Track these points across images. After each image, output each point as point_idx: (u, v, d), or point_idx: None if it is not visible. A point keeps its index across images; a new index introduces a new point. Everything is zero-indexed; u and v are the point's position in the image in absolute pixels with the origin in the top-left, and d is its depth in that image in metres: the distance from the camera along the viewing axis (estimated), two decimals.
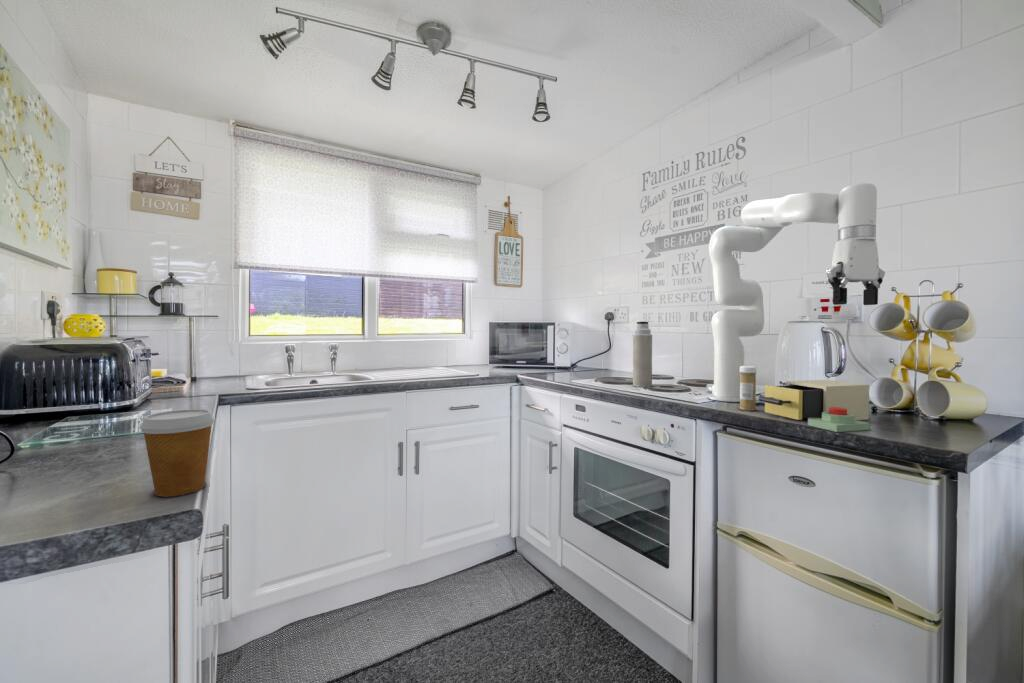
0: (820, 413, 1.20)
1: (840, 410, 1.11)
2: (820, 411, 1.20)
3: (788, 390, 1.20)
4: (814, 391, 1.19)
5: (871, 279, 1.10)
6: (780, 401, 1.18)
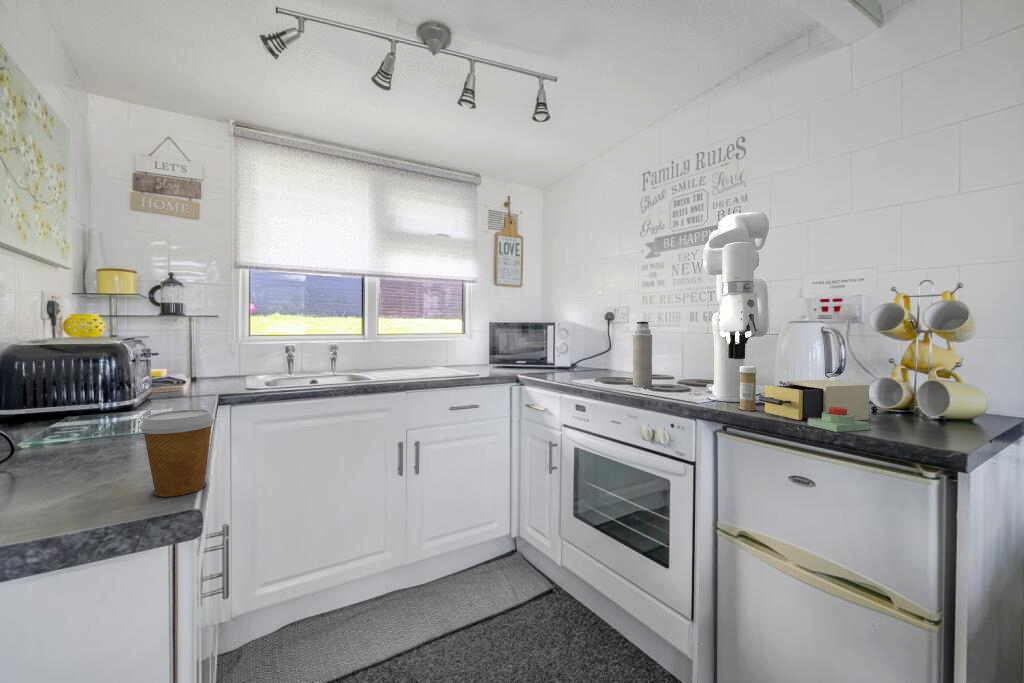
0: (820, 413, 1.20)
1: (840, 410, 1.11)
2: (820, 411, 1.20)
3: (788, 390, 1.20)
4: (814, 391, 1.19)
5: (738, 331, 1.16)
6: (780, 401, 1.18)
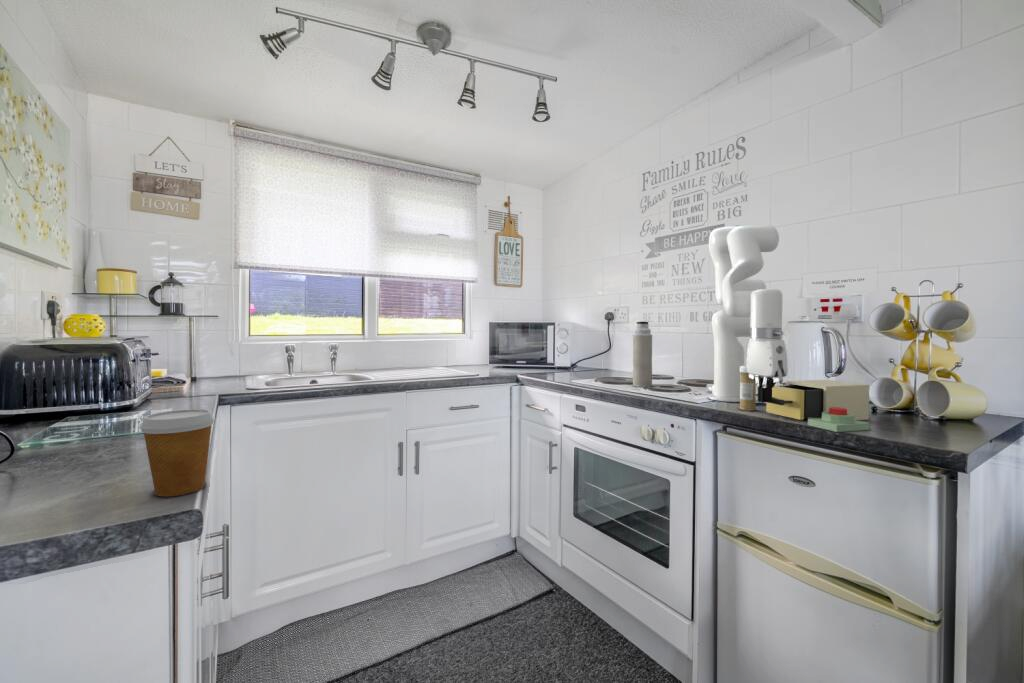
0: None
1: (840, 410, 1.11)
2: (822, 411, 1.20)
3: (790, 390, 1.20)
4: (816, 391, 1.19)
5: (767, 376, 1.18)
6: (782, 401, 1.18)
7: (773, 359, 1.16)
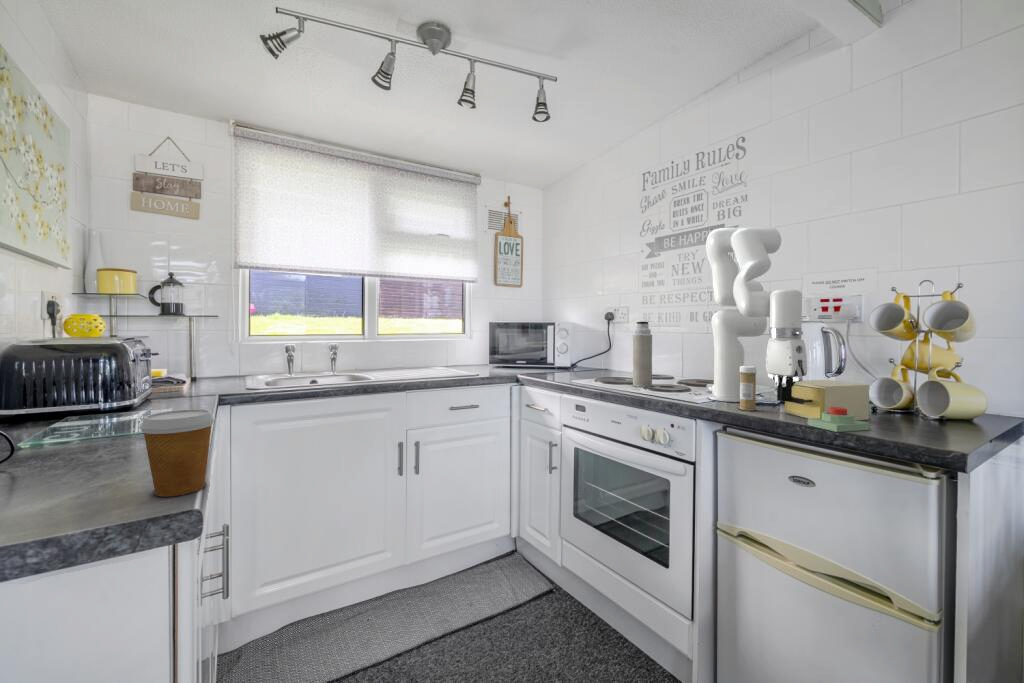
0: None
1: (840, 410, 1.11)
2: None
3: (809, 389, 1.22)
4: None
5: (786, 375, 1.20)
6: (802, 400, 1.20)
7: (793, 358, 1.18)
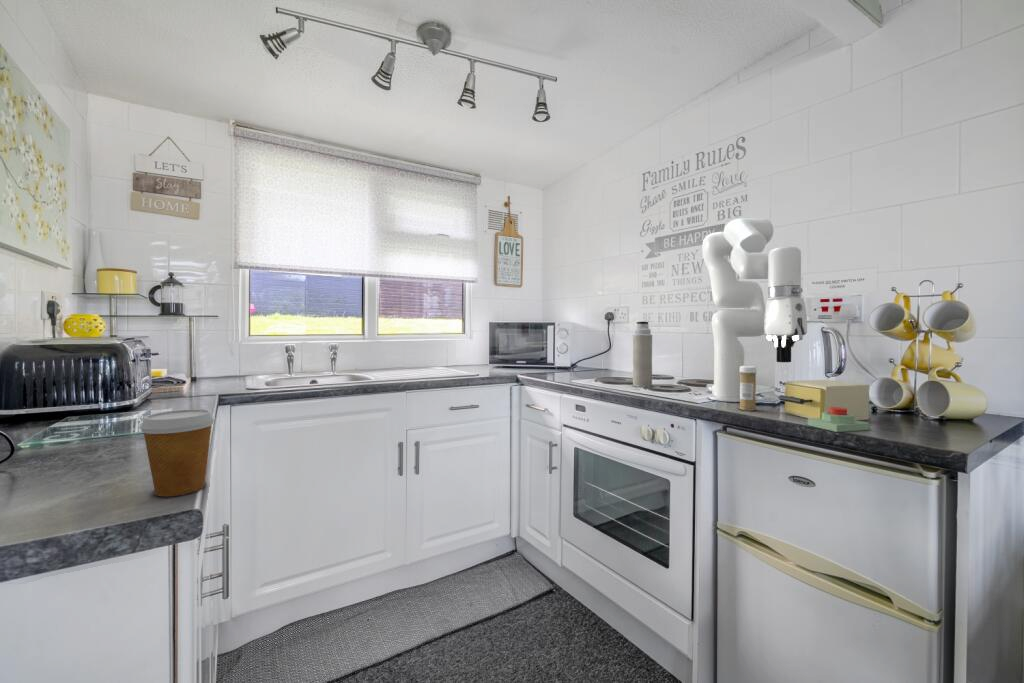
0: None
1: (840, 410, 1.11)
2: None
3: (809, 389, 1.22)
4: None
5: (786, 334, 1.17)
6: (802, 400, 1.20)
7: (792, 316, 1.15)
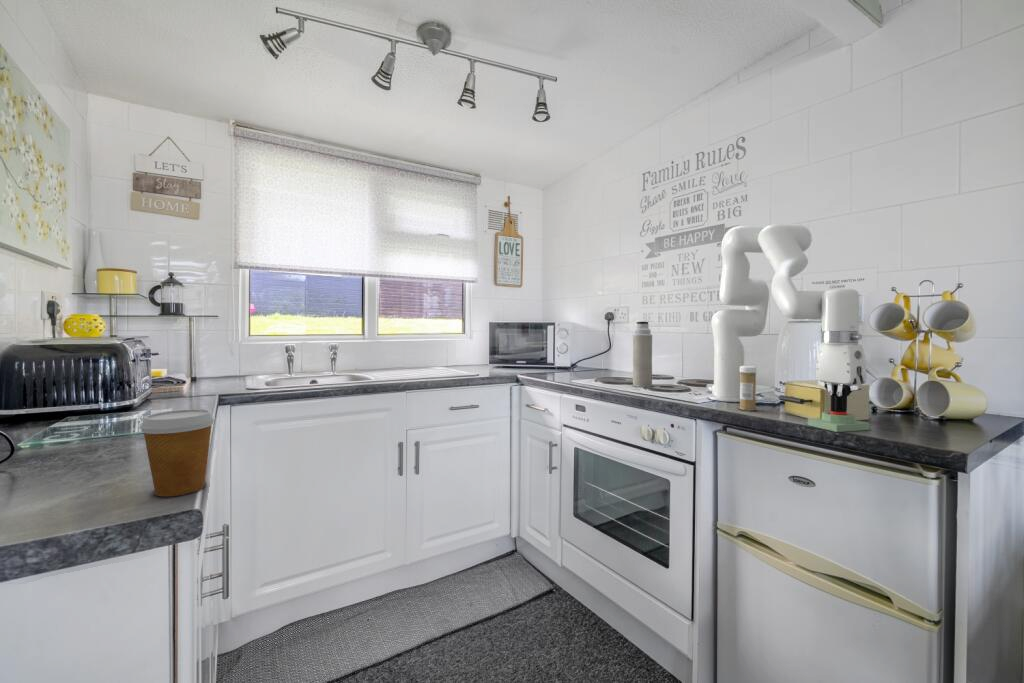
0: None
1: (840, 413, 1.11)
2: None
3: (809, 389, 1.22)
4: None
5: (843, 383, 1.09)
6: (802, 400, 1.20)
7: (851, 365, 1.07)
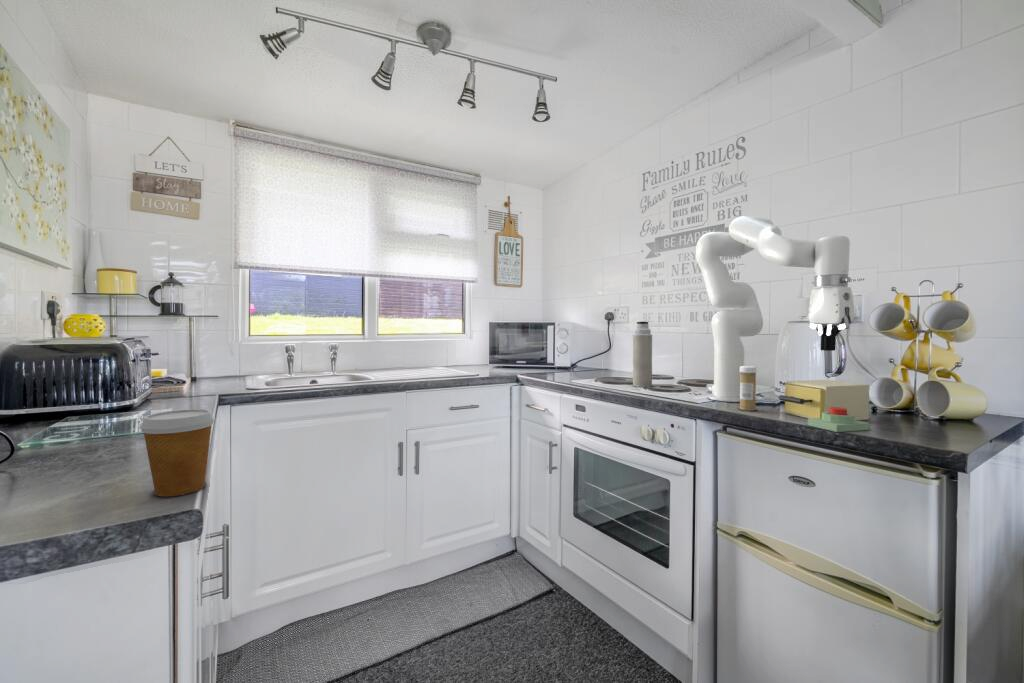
0: None
1: (840, 410, 1.11)
2: None
3: (809, 389, 1.22)
4: None
5: (832, 323, 1.18)
6: (802, 400, 1.20)
7: (840, 306, 1.16)
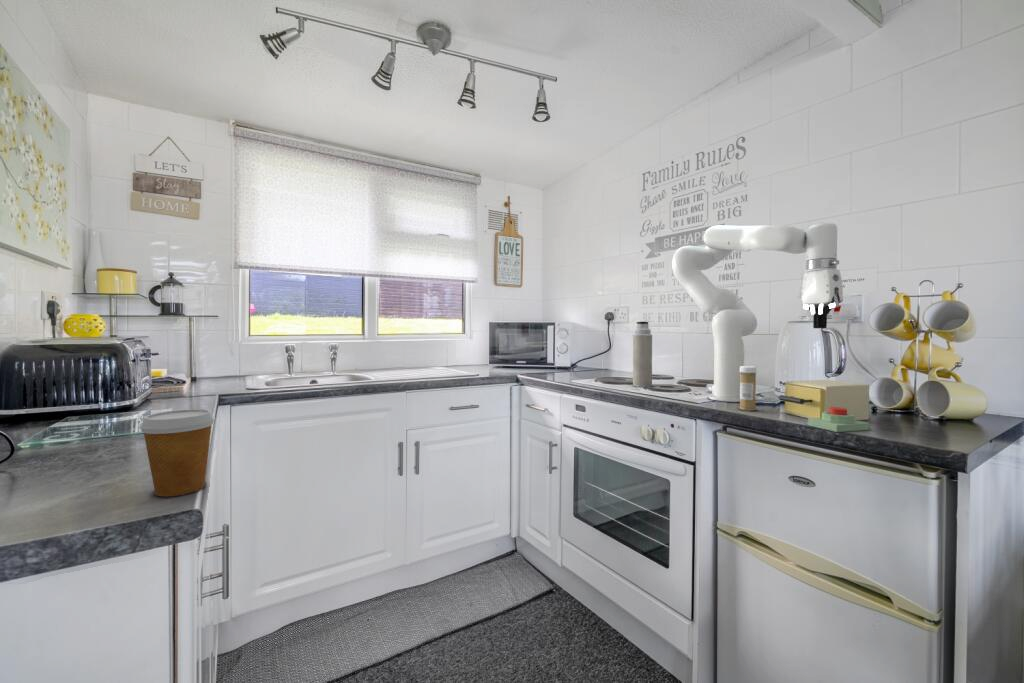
0: None
1: (840, 410, 1.11)
2: None
3: (809, 389, 1.22)
4: None
5: (823, 302, 1.29)
6: (802, 400, 1.20)
7: (830, 286, 1.27)
